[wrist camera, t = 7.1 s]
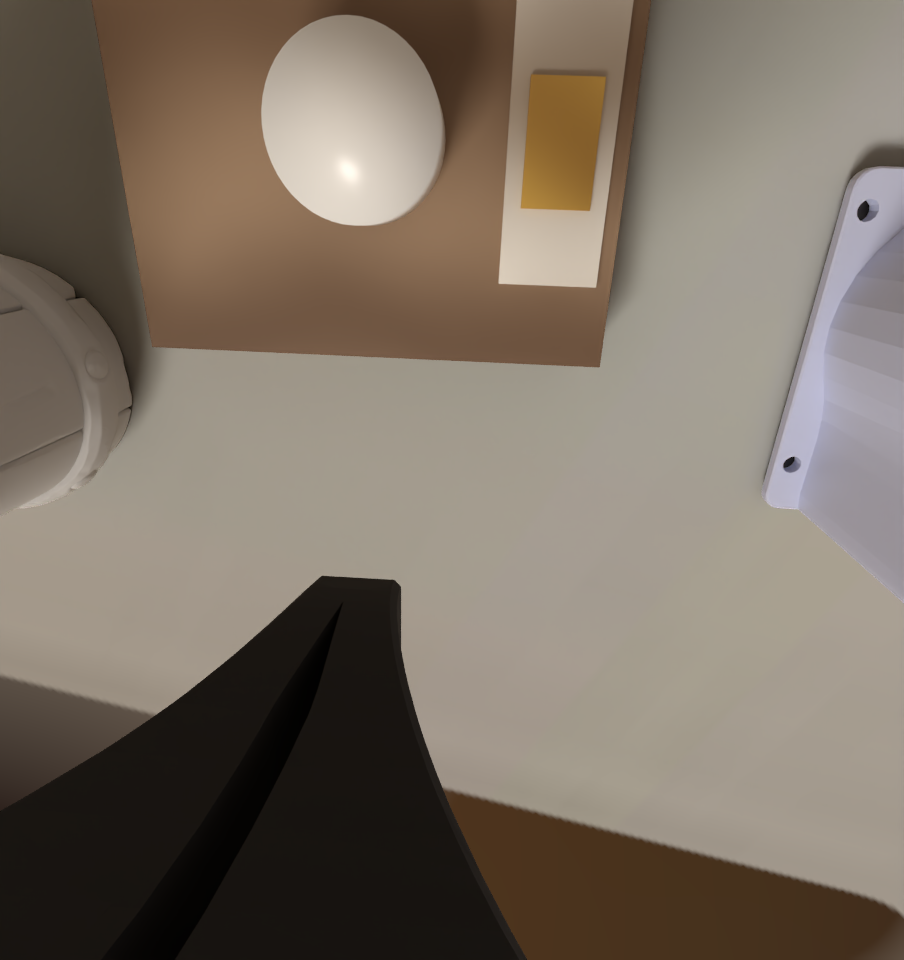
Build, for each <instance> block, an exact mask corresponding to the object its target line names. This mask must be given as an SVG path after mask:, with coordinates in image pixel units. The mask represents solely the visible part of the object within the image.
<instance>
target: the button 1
mask: <svg viewBox="0 0 904 960" xmlns="http://www.w3.org/2000/svg"><path fill="white" fill-rule="evenodd" d="M261 117H262V129H263V137H264V141H265V145H266V149H267V152H268V155H269V157H270V160H271V163H272V165H273V167H274V169H275V171H276V173H277V175H278V176H279V178H280V180H281V181H282V183H283V184H284V186H285V187H286V188H287V189H288V191H289V192H290V193H291V194H292V195H293V196H294V197H295V198H296V199H297V200H298V201H299V202H300V203H301V204H302V205H303V206H305V207H306V208H307V209H309V210H310V211H311V212H313V213H315V214H317V215H318V216H320V217H322V218H325V219H327V220H330V221H332V222H336V223H340V224H345V225H354V226H375V225H383V224H388V223H391V222H394V221H397V220H399V219H401V218H402V217H404V216H406V215H408V214H409V213H410V212H412V211H413V210H414V209H416V208H417V207H418V206H419V205H420V204H421V203H422V202H423V201H424V199H425V198H426V197H427V196H428V194H429V193H430V191H431V190H432V188H433V186H434V184H435V182H436V180H437V178H438V176H439V173H440V170H441V167H442V163H443V158H444V153H445V142H446V139H445V124H444V117H443V113H442V109H441V105H440V102H439V99H438V96H437V93H436V90H435V88H434V85H433V82H432V80H431V77H430V75H429V73H428V71H427V69H426V67H425V65H424V63H423V62H422V60H421V59H420V58H419V56H418V55H417V53H416V52H415V50H414V49H413V48H412V47H411V46H410V45H409V44H408V43H407V42H406V41H405V40H404V39H403V38H402V37H401V36H400V35H398V34H397V33H396V32H395V31H393V30H392V29H390V28H388V27H387V26H385V25H383V24H381V23H379V22H377V21H375V20H372V19H369V18H365V17H361V16H354V15H335V16H330V17H326V18H322V19H319V20H317V21H314V22H312V23H310V24H308V25H307V26H305V27H304V28H302V29H300V30H299V31H298V32H297V33H296V34H294V35H293V36H292V37H291V38H290V39H289V40H288V41H287V42H286V44H285V45H284V46H283V47H282V48H281V50H280V52H279V53H278V55H277V56H276V58H275V60H274V62H273V64H272V66H271V68H270V70H269V73H268V76H267V79H266V82H265V86H264V91H263V96H262V108H261Z"/></svg>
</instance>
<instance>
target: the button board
mask: <svg viewBox="0 0 904 960" xmlns="http://www.w3.org/2000/svg"><path fill="white" fill-rule="evenodd" d="M650 5H651V0H92V6H93V12H94V18H95V23H96V29H97V35H98V40H99V46H100V52H101V57H102V63H103V69H104V75H105V80H106V86H107V92H108V97H109V103H110V109H111V114H112V120H113V126H114V132H115V137H116V143H117V149H118V154H119V160H120V166H121V172H122V177H123V183H124V189H125V194H126V200H127V206H128V211H129V217H130V223H131V229H132V234H133V240H134V246H135V251H136V257H137V263H138V268H139V274H140V280H141V286H142V291H143V297H144V303H145V308H146V314H147V320H148V325H149V331H150V337H151V343H152V347H166V348H188V349H210V350H232V351H254V352H276V353H298V354H320V355H342V356H364V357H386V358H408V359H430V360H451V361H473V362H495V363H517V364H539V365H561V366H583V367H600V360H601V353H602V346H603V339H604V332H605V325H606V318H607V311H608V303H609V296H610V289H611V282H612V275H613V268H614V261H615V254H616V247H617V239H618V232H619V225H620V218H621V211H622V204H623V197H624V190H625V183H626V176H627V168H628V161H629V154H630V147H631V140H632V133H633V126H634V119H635V112H636V104H637V97H638V90H639V83H640V76H641V69H642V62H643V55H644V48H645V41H646V33H647V26H648V19H649V12H650ZM335 15H354V16H361V17H365V18H369V19H372V20H375V21H377V22H379V23H381V24H383V25H385V26H387V27H388V28H390V29H392V30H393V31H395V32H396V33H397V34H398V35H400V36H401V37H402V38H403V39H404V40H405V41H406V42H407V43H408V44H409V45H410V46H411V47H412V48H413V49H414V50H415V52H416V53H417V55H418V56H419V58H420V59H421V60H422V62H423V63H424V65H425V67H426V69H427V71H428V73H429V75H430V77H431V80H432V82H433V85H434V88H435V90H436V93H437V96H438V99H439V102H440V105H441V109H442V113H443V117H444V124H445V139H446V142H445V153H444V158H443V163H442V167H441V170H440V173H439V176H438V178H437V180H436V182H435V184H434V186H433V188H432V190H431V191H430V193H429V194H428V196H427V197H426V198H425V199H424V201H423V202H422V203H421V204H420V205H419V206H418V207H417V208H416V209H414V210H413V211H412V212H410V213H409V214H408V215H406V216H404V217H402V218H401V219H399V220H397V221H394V222H391V223H388V224H383V225H375V226H354V225H345V224H340V223H336V222H332V221H330V220H327V219H325V218H322V217H320V216H318V215H317V214H315V213H313V212H311V211H310V210H309V209H307V208H306V207H305V206H303V205H302V204H301V203H300V202H299V201H298V200H297V199H296V198H295V197H294V196H293V195H292V194H291V193H290V192H289V191H288V189H287V188H286V187H285V186H284V184H283V183H282V181H281V180H280V178H279V176H278V175H277V173H276V171H275V169H274V167H273V165H272V163H271V160H270V157H269V155H268V152H267V149H266V145H265V141H264V137H263V129H262V117H261V108H262V96H263V91H264V86H265V82H266V79H267V76H268V73H269V70H270V68H271V66H272V64H273V62H274V60H275V58H276V56H277V55H278V53H279V52H280V50H281V48H282V47H283V46H284V45H285V44H286V42H287V41H288V40H289V39H290V38H291V37H292V36H293V35H294V34H296V33H297V32H298V31H299V30H300V29H302V28H304V27H305V26H307V25H308V24H310V23H312V22H314V21H317V20H319V19H322V18H326V17H330V16H335Z"/></svg>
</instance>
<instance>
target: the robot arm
mask: <svg viewBox="0 0 904 960" xmlns="http://www.w3.org/2000/svg"><path fill="white" fill-rule="evenodd" d="M864 201H867V202H868V204H869V213H868V214H867V216H866V217H865V218H864V219H863V220H862V221H860V220H859V219H858V217H857V210H858V208H859V206H860V204H861V203H863V202H864ZM790 457H795V460H794V462H793V464H792V465H790V466H789V467H786V468H783V464H784V462H785V460H787V459H788V458H790ZM762 497H763V499H764V500H765V501H766V502H767V503H768V504H769V505H771V506H772V507H775V508H785V509H799V510H800V511H801V512H802V513H803V514H804V515H805V516H806V517H808V518H809V519H810V520H811V521H812V522H813V523H814V524H815V525H817V526H818V527H819V528H820V529H821V530H822V531H823V532H824V533H825V534H827V535H828V536H829V537H830V538H831V539H832V540H833V541H834V542H836V543H837V544H838V545H839V546H840V547H841V548H842V549H843V550H845V551H846V552H847V553H848V554H849V555H850V556H851V557H852V558H854V559H855V560H856V561H857V562H858V563H859V564H860V565H861V566H863V567H864V568H865V569H866V570H867V571H868V572H869V573H870V574H872V575H873V576H874V577H875V578H876V579H877V580H878V581H879V582H880V583H882V584H883V585H884V586H885V587H886V588H887V589H888V590H889V591H891V592H892V593H893V594H894V595H895V596H896V597H897V598H898V599H900V600H901V601H902V602H903V603H904V167H892V166H877V167H871V168H865V169H863V170H861V171H860V172H858V173H856V174H855V175H854V177H853V178H852V179H851V180H850V182H849V184H848V186H847V188H846V191H845V195H844V198H843V202H842V205H841V209H840V213H839V216H838V220H837V223H836V227H835V230H834V234H833V238H832V241H831V245H830V248H829V252H828V255H827V259H826V262H825V266H824V270H823V273H822V277H821V280H820V284H819V287H818V291H817V295H816V298H815V302H814V305H813V309H812V312H811V316H810V319H809V323H808V327H807V330H806V334H805V337H804V341H803V344H802V348H801V351H800V355H799V359H798V362H797V366H796V369H795V373H794V376H793V380H792V384H791V387H790V391H789V394H788V398H787V401H786V405H785V408H784V412H783V416H782V419H781V423H780V426H779V430H778V433H777V437H776V441H775V444H774V448H773V451H772V455H771V458H770V462H769V465H768V469H767V473H766V476H765V480H764V483H763V487H762ZM0 960H527V959H526V957H525V955H524V953H523V951H522V950H521V948H520V946H519V944H518V943H517V941H516V939H515V937H514V935H513V934H512V932H511V930H510V928H509V927H508V925H507V923H506V921H505V919H504V917H503V915H502V913H501V911H500V909H499V907H498V905H497V903H496V901H495V900H494V898H493V896H492V894H491V892H490V890H489V888H488V886H487V884H486V883H485V881H484V879H483V877H482V875H481V873H480V871H479V868H478V866H477V864H476V862H475V860H474V857H473V855H472V853H471V851H470V849H469V847H468V845H467V843H466V840H465V838H464V836H463V834H462V832H461V829H460V827H459V825H458V823H457V821H456V819H455V817H454V814H453V812H452V810H451V808H450V806H449V803H448V801H447V798H446V796H445V793H444V791H443V788H442V786H441V783H440V781H439V778H438V776H437V773H436V771H435V768H434V765H433V763H432V760H431V757H430V754H429V752H428V749H427V746H426V743H425V740H424V737H423V734H422V731H421V728H420V725H419V722H418V718H417V715H416V712H415V708H414V705H413V701H412V697H411V694H410V690H409V686H408V682H407V678H406V673H405V668H404V663H403V658H402V652H401V586H400V585H399V584H398V583H397V582H396V581H395V580H385V579H367V578H350V577H332V576H321V577H320V578H319V579H318V580H316V581H315V582H314V583H313V584H312V585H311V586H310V587H309V588H307V589H306V590H305V591H304V592H303V593H302V594H301V595H300V596H299V597H298V598H297V599H296V600H295V601H294V602H292V603H291V604H290V605H289V606H288V607H287V608H286V609H285V610H284V611H283V612H282V613H281V614H279V615H278V616H277V617H276V618H275V619H274V620H273V621H272V622H271V623H270V624H269V625H267V626H266V627H265V628H264V629H263V630H262V631H261V632H259V633H258V634H257V635H256V636H255V637H254V638H253V639H252V640H250V641H249V642H248V643H247V644H246V645H245V646H244V647H242V648H241V649H240V650H239V651H238V652H237V653H236V654H234V655H233V656H232V657H231V658H230V659H228V660H227V661H226V662H225V663H223V664H222V665H221V666H220V667H218V668H217V669H216V670H215V671H213V672H212V673H211V674H210V675H208V676H207V677H206V678H205V679H203V680H202V681H201V682H200V683H198V684H197V685H196V686H195V687H193V688H192V689H191V690H190V691H188V692H187V693H186V694H184V695H183V696H182V697H180V698H179V699H178V700H176V701H175V702H174V703H172V704H171V705H169V706H168V707H167V708H165V709H164V710H162V711H161V712H160V713H158V714H157V715H155V716H154V717H153V718H151V719H150V720H148V721H147V722H145V723H144V724H142V725H141V726H139V727H138V728H136V729H135V730H133V731H132V732H130V733H129V734H127V735H126V736H124V737H123V738H121V739H120V740H118V741H117V742H115V743H114V744H112V745H111V746H109V747H108V748H106V749H104V750H103V751H101V752H100V753H98V754H96V755H95V756H93V757H91V758H90V759H88V760H86V761H85V762H83V763H81V764H80V765H78V766H77V767H75V768H73V769H71V770H70V771H68V772H66V773H64V774H63V775H61V776H60V777H58V778H56V779H55V780H53V781H51V782H50V783H48V784H46V785H44V786H43V787H41V788H39V789H38V790H36V791H34V792H33V793H31V794H29V795H28V796H26V797H24V798H23V799H21V800H19V801H17V802H16V803H14V804H12V805H10V806H8V807H7V808H5V809H3V810H1V811H0Z"/></svg>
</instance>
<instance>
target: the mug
mask: <svg viewBox="0 0 904 960" xmlns="http://www.w3.org/2000/svg"><path fill="white" fill-rule="evenodd" d="M75 297H76V296H75V291H74V288H73V287H72V286H71V285H70V284H69V283H67V282H66V281H65V280H63V279H62V278H60V277H59V276H57V275H55V274H53V273H51V272H50V271H48V270H46V269H44V268H42V267H39V266H37V265H35V264H32V263H29V262H27V261H24V260H20V259H16V258H13V257H9V256H5V255H2V254H0V517H1V516H3V515H5V514H7V513H9V512H11V511H12V510H14V509H20V508H29V507H35V506H40V505H43V504H47V503H49V502H52V501H54V500H57V499H60V498H62V497H65V496H67V495H68V494H70V493H71V492H72V491H74V490H75V489H77V488H80V487H82V486H84V485H86V484H87V483H88V482H89V481H90V480H91V479H92V478H93V477H94V476H95V474H96V473H97V471H98V470H99V469H100V468H101V467H102V466H103V464H104V463H105V461H106V459H107V457H108V455H109V454H110V453H111V452H112V451H113V450H114V449H115V447H116V446H117V445H118V443H119V442H120V440H121V439H122V437H123V435H124V433H125V431H126V428H127V425H128V422H129V418H130V413H131V410H130V409H129V408H127V407H129V406H131V405H132V395H131V392H130V387H129V381H128V377H127V373H126V370H125V367H124V362H123V355H122V353H121V350H120V347H119V345H118V342H117V340H116V338H115V336H114V334H113V332H112V331H111V329H110V328H109V326H108V324H107V323H106V322H105V320H104V319H103V317H102V316H101V315H100V314H99V312H98V311H97V310H96V309H95V308H94V307H93V306H92V305H91V304H90V303H89V302H88V301H87V300H86V299H85V298H78V299H75Z"/></svg>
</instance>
